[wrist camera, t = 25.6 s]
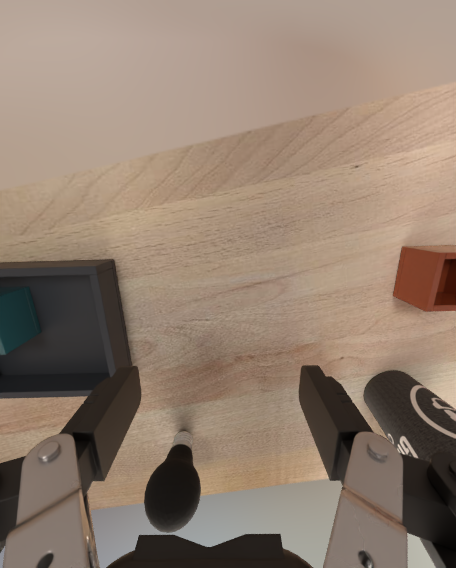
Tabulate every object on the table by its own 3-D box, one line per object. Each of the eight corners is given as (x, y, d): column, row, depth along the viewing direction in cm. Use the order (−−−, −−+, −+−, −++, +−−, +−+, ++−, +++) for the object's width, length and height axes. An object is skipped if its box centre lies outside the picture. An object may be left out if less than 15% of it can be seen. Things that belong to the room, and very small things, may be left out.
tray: (-40, 263, 25) (-84, 271, 21) (114, 259, 24) (95, 266, 21) (2, 377, 29) (-29, 399, 25) (133, 374, 29) (120, 395, 25)
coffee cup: (349, 367, 28) (475, 520, 14) (428, 353, 28) (641, 497, 14) (353, 426, 31) (463, 605, 17) (425, 414, 31) (602, 589, 16)
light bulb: (206, 416, 31) (197, 507, 21) (205, 449, 32) (196, 548, 23) (162, 415, 30) (133, 506, 21) (164, 448, 32) (137, 546, 22)
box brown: (401, 246, 24) (439, 252, 20) (454, 245, 24) (503, 250, 20) (392, 296, 26) (426, 311, 22) (442, 294, 26) (485, 310, 21)
